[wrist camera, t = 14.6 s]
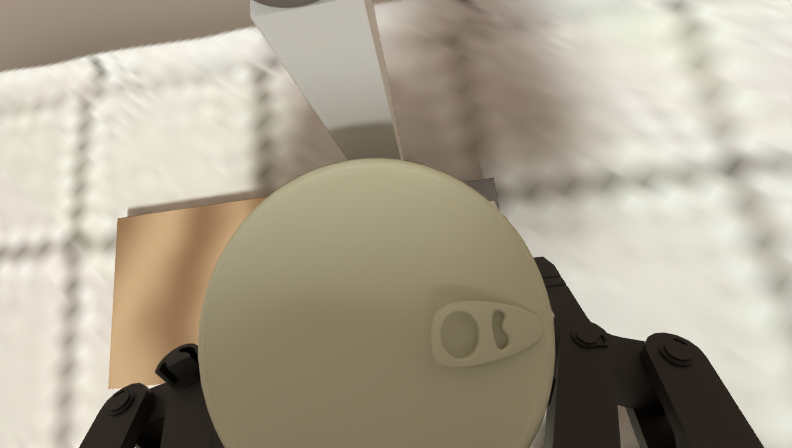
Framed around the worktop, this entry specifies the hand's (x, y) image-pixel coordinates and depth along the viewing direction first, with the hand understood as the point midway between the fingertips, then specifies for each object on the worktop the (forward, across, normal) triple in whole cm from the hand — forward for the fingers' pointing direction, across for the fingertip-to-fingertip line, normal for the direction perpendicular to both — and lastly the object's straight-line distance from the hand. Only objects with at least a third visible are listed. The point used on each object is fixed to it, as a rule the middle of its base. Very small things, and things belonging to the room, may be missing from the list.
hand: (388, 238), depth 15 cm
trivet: (+2, -14, -4) cm, 14 cm away
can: (+1, 0, -6) cm, 6 cm away
